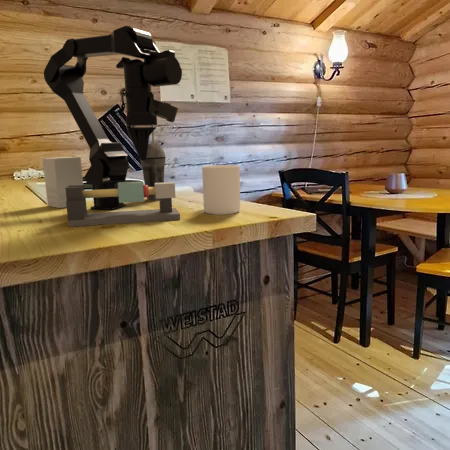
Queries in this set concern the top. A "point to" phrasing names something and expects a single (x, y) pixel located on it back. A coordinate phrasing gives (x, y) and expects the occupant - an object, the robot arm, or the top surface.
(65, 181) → the supplement box
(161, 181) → the beverage cup
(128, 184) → the sleeve
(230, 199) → the mug
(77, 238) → the top surface
